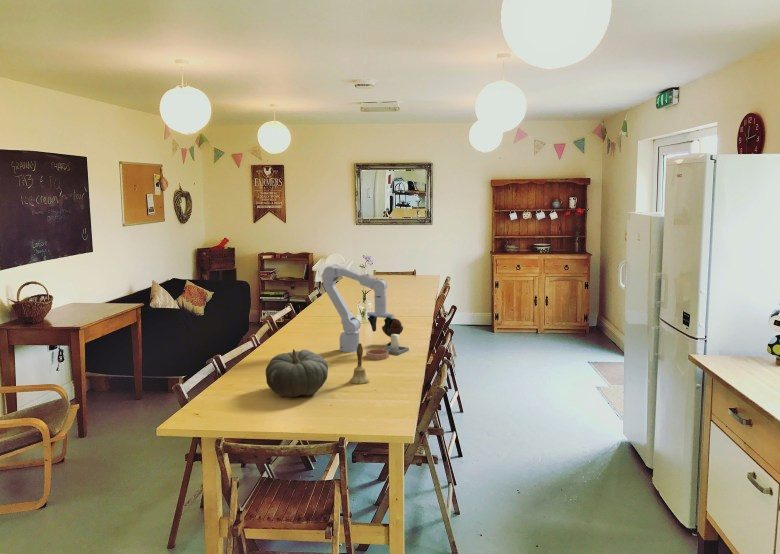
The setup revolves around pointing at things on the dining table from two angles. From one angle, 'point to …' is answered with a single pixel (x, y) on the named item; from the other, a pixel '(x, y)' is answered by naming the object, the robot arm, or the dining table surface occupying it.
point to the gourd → (296, 373)
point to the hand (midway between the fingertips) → (380, 331)
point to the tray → (401, 350)
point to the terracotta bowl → (377, 354)
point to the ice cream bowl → (393, 328)
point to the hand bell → (359, 369)
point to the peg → (394, 342)
